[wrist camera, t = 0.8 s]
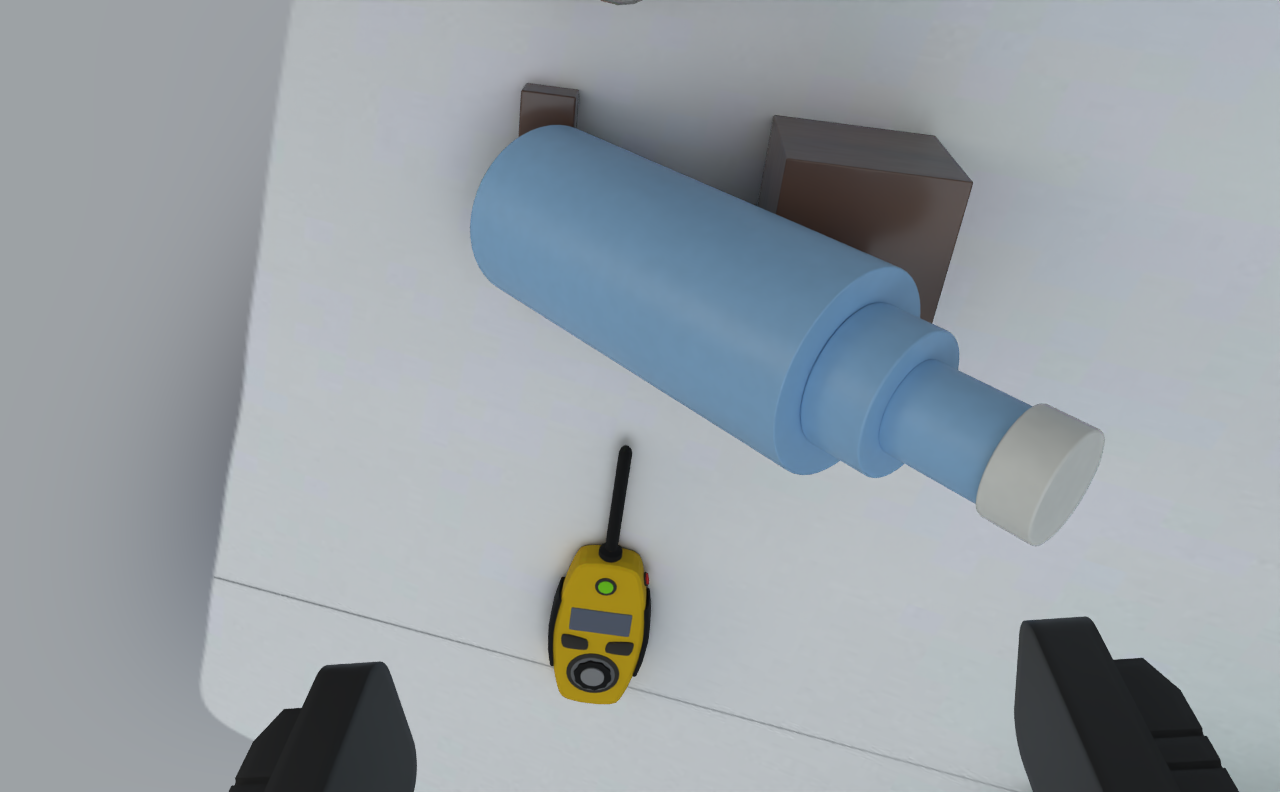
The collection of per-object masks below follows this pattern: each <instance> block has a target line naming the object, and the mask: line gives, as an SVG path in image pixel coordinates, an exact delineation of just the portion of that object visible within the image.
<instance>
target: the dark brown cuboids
mask: <svg viewBox="0 0 1280 792" xmlns="http://www.w3.org/2000/svg"><path fill="white" fill-rule="evenodd" d="M578 100H579V90H575V89H568V88H560V87H552V86H545V85H537V84H529V83H527V84H526V85H525V86H524V88H523V89H522V91H521V104H520V122H519V137H520V136H521V135H523V134H525V133H527V132H529V131H531V130H534V129H537V128H539V127H544V126H549V125H565V126H570V127H573V128H576V124H577V112H578ZM972 185H973V182H972V181H971V179H970V178H969V177H968V176H967V175H966V173H965V172H964V171H963V170H962V168H961V167H960V166H959V165H958V163H957V162H956V161H955V160H954V158H953V157H952V156H951V155H950V154H949V152H948V151H947V150H946V149H945V147H944V146H943V145H942V144H941V142H940V141H939V140H938V139H937V138H936V136H931V135H924V134H916V133H908V132H900V131H893V130H885V129H877V128H870V127H862V126H854V125H846V124H839V123H831V122H823V121H816V120H808V119H800V118H792V117H785V116H777V115H775V116H774V117H773V122H772V128H771V133H770V139H769V144H768V150H767V155H766V161H765V166H764V172H763V177H762V183H761V188H760V194H759V199H758V205H757V206H758V207H760V208H762V209H765V210H767V211H769V212H772V213H774V214H776V215H779V216H781V217H783V218H786V219H788V220H790V221H792V222H795V223H797V224H799V225H802V226H804V227H806V228H809V229H811V230H813V231H816V232H818V233H820V234H823V235H825V236H827V237H830V238H832V239H834V240H837V241H839V242H841V243H844V244H846V245H848V246H851V247H853V248H855V249H858V250H860V251H862V252H864V253H867V254H869V255H871V256H874V257H876V258H878V259H881V260H883V261H885V262H888V263H890V264H892V265H895V266H897V267H899V268H901V269H903V270H905V271H906V272H907V273H908V274H909V275H910V276H911V277H912V278H913V280H914V282H915V284H916V286H917V289H918V292H919V298H920V318H921V319H923V320H925V321H927V322H929V323H932V322H933V319H934V315H935V312H936V308H937V305H938V301H939V298H940V295H941V291H942V288H943V284H944V281H945V277H946V274H947V271H948V267H949V264H950V260H951V257H952V253H953V250H954V247H955V243H956V240H957V236H958V233H959V230H960V226H961V223H962V219H963V216H964V212H965V209H966V206H967V202H968V199H969V195H970V192H971V188H972Z"/></svg>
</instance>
